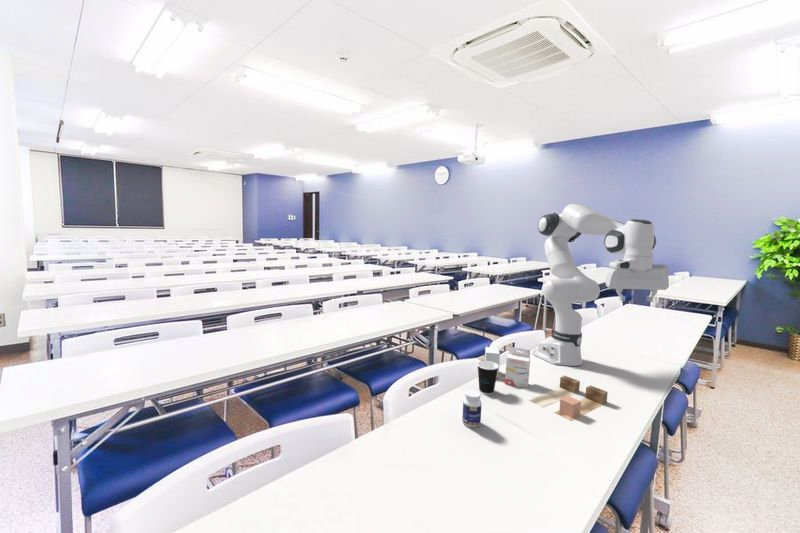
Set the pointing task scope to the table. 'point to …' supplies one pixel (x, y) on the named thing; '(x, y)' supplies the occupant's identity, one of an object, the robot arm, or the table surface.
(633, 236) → the robot arm
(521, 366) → the ink cartridge box
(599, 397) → the oak strip
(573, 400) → the terracotta cube
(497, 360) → the small box
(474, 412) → the pill bottle
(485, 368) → the dixie cup
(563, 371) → the table surface
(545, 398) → the pale ash strip
